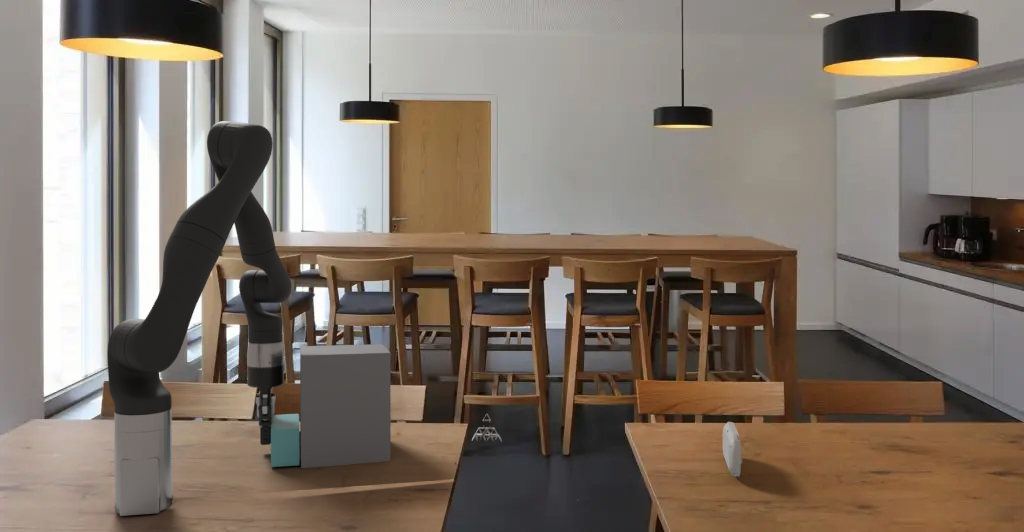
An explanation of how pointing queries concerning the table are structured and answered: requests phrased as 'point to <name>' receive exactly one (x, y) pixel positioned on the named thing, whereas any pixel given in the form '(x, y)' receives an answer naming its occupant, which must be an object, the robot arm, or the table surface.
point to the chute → (285, 440)
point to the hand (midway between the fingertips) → (265, 443)
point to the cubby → (344, 405)
